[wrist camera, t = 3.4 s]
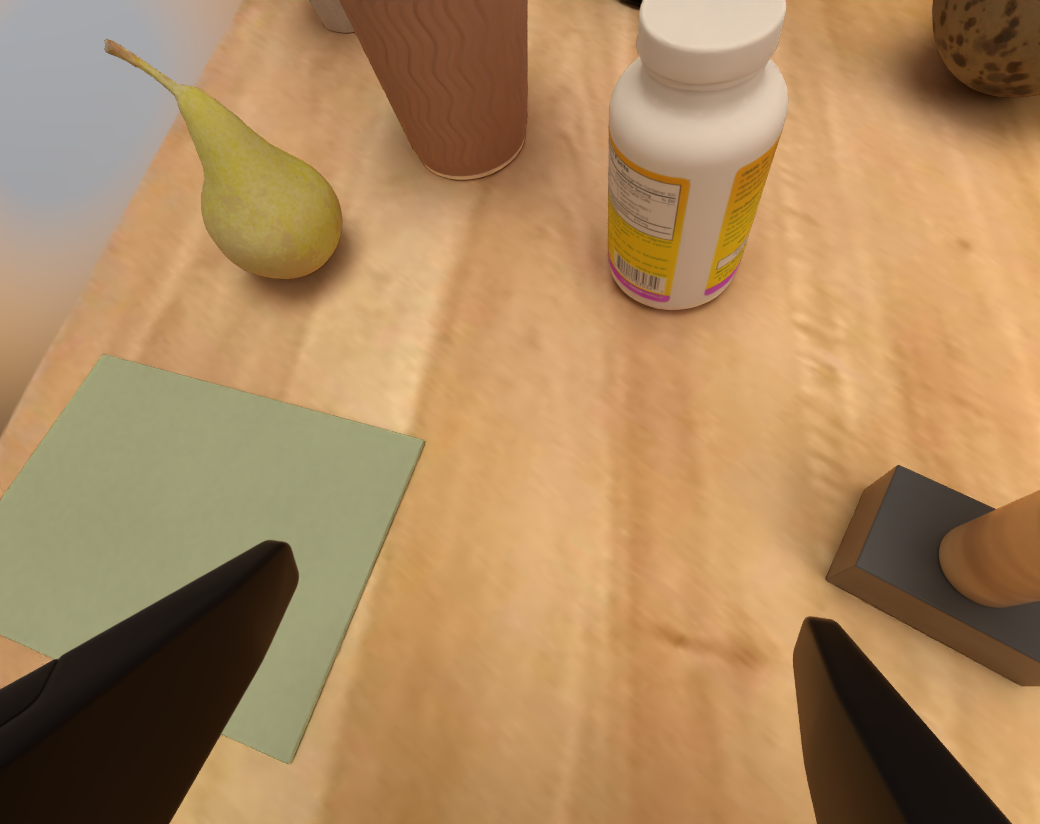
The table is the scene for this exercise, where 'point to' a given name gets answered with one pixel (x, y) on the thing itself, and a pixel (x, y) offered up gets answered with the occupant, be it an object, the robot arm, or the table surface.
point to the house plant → (332, 15)
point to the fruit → (254, 189)
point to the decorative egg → (991, 44)
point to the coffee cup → (451, 77)
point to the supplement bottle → (692, 146)
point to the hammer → (949, 568)
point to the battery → (635, 1)
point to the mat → (198, 522)
